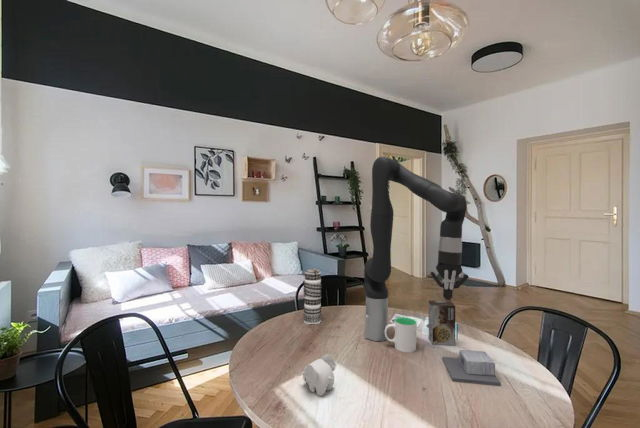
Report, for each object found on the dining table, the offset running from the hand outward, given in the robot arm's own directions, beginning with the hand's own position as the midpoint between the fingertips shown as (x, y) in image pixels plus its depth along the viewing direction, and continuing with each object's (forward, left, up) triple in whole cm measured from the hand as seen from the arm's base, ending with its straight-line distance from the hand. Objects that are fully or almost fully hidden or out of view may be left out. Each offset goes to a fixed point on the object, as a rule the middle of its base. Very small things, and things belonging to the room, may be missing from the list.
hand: (447, 299), depth 105 cm
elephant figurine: (-42, -22, -23) cm, 53 cm away
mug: (-15, +10, -23) cm, 29 cm away
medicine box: (+4, -4, -19) cm, 20 cm away
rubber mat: (+6, -4, -23) cm, 24 cm away
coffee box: (+2, +18, -23) cm, 29 cm away
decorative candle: (-54, +30, -23) cm, 66 cm away
